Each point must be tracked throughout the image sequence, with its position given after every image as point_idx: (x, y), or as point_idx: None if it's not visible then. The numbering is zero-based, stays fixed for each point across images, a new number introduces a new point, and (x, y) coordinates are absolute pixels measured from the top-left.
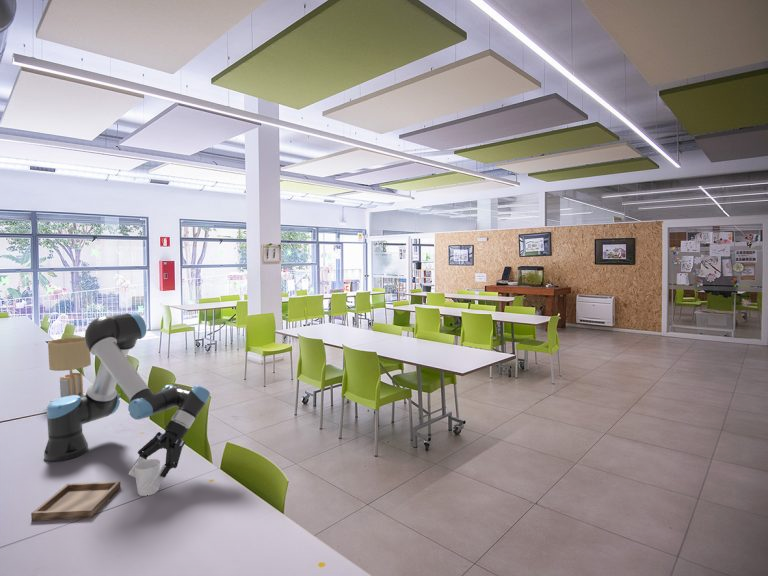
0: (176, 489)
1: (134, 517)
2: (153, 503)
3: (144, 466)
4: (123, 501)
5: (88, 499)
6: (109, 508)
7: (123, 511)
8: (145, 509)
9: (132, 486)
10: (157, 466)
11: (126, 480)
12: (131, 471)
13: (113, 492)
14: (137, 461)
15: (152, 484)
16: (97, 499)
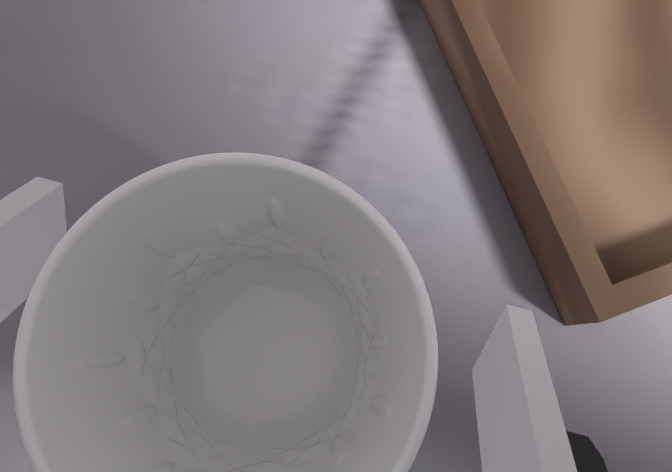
0: (21, 452)
1: (100, 16)
2: (84, 197)
3: (380, 431)
4: (355, 162)
5: (624, 85)
6: (379, 63)
7: (242, 56)
8: (90, 113)
9: None
10: (29, 371)
11: (641, 461)
12: (511, 332)
13: (524, 207)
14: (557, 458)
15: (36, 180)
16: (556, 101)
